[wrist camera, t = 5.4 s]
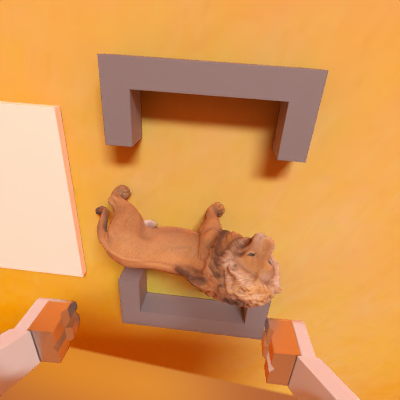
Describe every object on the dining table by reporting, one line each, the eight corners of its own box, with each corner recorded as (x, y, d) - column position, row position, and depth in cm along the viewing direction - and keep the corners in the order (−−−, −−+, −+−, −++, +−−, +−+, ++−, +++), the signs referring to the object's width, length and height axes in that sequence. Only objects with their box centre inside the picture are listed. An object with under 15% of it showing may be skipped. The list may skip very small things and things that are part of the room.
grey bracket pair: (316, 68, 15) (328, 70, 13) (258, 318, 23) (261, 339, 22) (112, 54, 15) (97, 53, 14) (130, 303, 24) (122, 322, 22)
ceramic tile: (59, 106, 17) (54, 107, 16) (86, 271, 23) (82, 276, 22) (-96, 93, 17) (-107, 94, 17) (-31, 258, 23) (-37, 263, 23)
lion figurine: (271, 191, 18) (295, 265, 12) (263, 245, 20) (280, 334, 14) (94, 181, 19) (24, 244, 13) (103, 234, 21) (47, 312, 14)
